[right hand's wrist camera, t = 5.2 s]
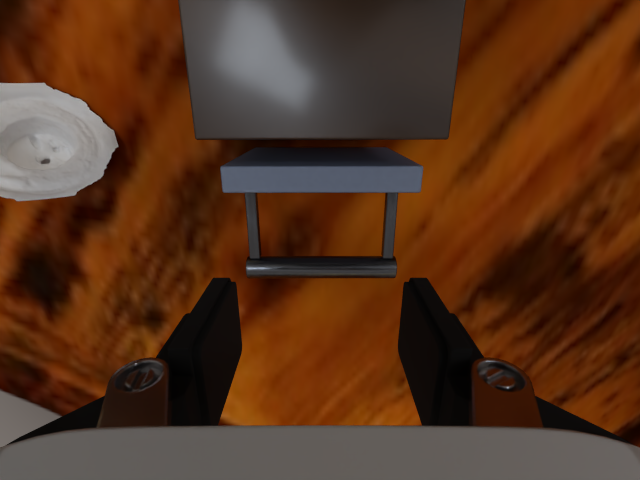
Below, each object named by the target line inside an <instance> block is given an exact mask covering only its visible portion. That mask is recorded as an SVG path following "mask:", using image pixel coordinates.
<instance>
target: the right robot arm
mask: <svg viewBox="0 0 640 480" xmlns="http://www.w3.org/2000/svg"><path fill="white" fill-rule="evenodd" d="M241 352H242V339H241V329H240V318H239V308H238V297H237V287H236V282H231V280H230V278H213V279H212V281H211V282H210V284H209V285H208V287H207V288H206V290H205V291H204V293H203V294H202V296H201V297H200V299H199V301H198V302H197V304H196V305H195V307H194V308H193V310H192V311H191V313H188V314H185V315H184V316H183V318H182V319H181V321H180V322H179V324H178V325H177V327H176V328H175V330H174V331H173V333H172V334H171V336H170V337H169V339H168V340H167V342H166V343H165V345H164V346H163V348H162V349H161V351H160V352H159V354H158V355H157V357H156V358H151V357H150V358H143V359H139V360H136V361H133V362H131V363H128V364H126V365H124V366H123V367H122V368H120V369H119V370H117V371H116V372H115V373H114V374H113V376H112V377H111V378H110V380H109V382H108V386H107V390H106V394H105V396H103V397H101V398H99V399H97V400H95V401H93V402H91V403H89V404H87V405H85V406H83V407H81V408H79V409H77V410H75V411H73V412H71V413H69V414H67V415H64V416H62V417H60V418H58V419H56V420H54V421H52V422H50V423H48V424H46V425H44V426H42V427H40V428H38V429H36V430H34V431H32V432H30V433H28V434H25V435H23V436H21V437H19V438H18V439H16V440H14V441H12V442H11V443H9V444H7V445H6V446H3V447H1V448H0V480H640V447H637V446H634V445H633V444H631V443H629V442H628V441H626V440H624V439H622V438H621V437H619V436H617V435H615V434H612V433H610V432H608V431H606V430H604V429H602V428H600V427H598V426H596V425H594V424H592V423H590V422H588V421H586V420H584V419H582V418H580V417H578V416H576V415H573V414H571V413H569V412H567V411H565V410H563V409H561V408H559V407H557V406H555V405H553V404H551V403H549V402H547V401H545V400H543V399H541V398H539V397H537V396H535V394H534V390H533V386H532V382H531V380H530V378H529V377H528V376H527V374H526V373H525V372H524V371H523V370H521V369H520V368H518V367H517V366H516V365H514V364H512V363H509V362H507V361H504V360H501V359H497V358H490V357H489V358H484V357H483V355H482V354H481V352H480V351H479V349H478V348H477V346H476V345H475V343H474V342H473V340H472V339H471V337H470V336H469V334H468V333H467V331H466V330H465V328H464V327H463V325H462V324H461V322H460V321H459V319H458V318H457V316H456V315H455V314H453V313H449V311H448V310H447V308H446V307H445V305H444V304H443V302H442V301H441V299H440V297H439V296H438V294H437V293H436V291H435V290H434V288H433V287H432V285H431V284H430V282H429V281H428V279H427V278H410V280H409V282H404V287H403V297H402V308H401V318H400V329H399V339H398V352H399V356H400V359H401V362H402V365H403V368H404V371H405V374H406V377H407V380H408V383H409V387H410V390H411V393H412V396H413V399H414V402H415V405H416V408H417V411H418V414H419V417H420V420H421V423H422V426H218V423H219V420H220V417H221V414H222V411H223V408H224V405H225V402H226V399H227V396H228V393H229V390H230V387H231V384H232V380H233V377H234V374H235V371H236V368H237V365H238V362H239V359H240V356H241Z"/></svg>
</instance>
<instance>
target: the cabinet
mask: <svg viewBox="0 0 640 480" xmlns="http://www.w3.org/2000/svg"><path fill="white" fill-rule="evenodd" d="M178 2H179V10H180V18H181V26H182V35H183V43H184V51H185V59H186V67H187V75H188V83H189V91H190V99H191V108H192V116H193V124H194V132H195V138H196V139H197V140H354V139H448V137H449V130H450V122H451V114H452V106H453V98H454V90H455V82H456V74H457V66H458V58H459V50H460V42H461V34H462V26H463V18H464V10H465V2H466V0H178Z"/></svg>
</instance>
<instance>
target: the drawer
mask: <svg viewBox="0 0 640 480" xmlns="http://www.w3.org/2000/svg"><path fill="white" fill-rule="evenodd" d="M220 169H221V179H222V189H223V192H224V193H245V203H246V215H247V228H248V241H249V253H250V256H249V257H248V258H247V261H246V275H247V278H395V277H396V273H397V262H396V258H395V256H393V250H394V238H395V225H396V213H397V200H398V193H419V192H420V191H421V183H422V174H423V166H421V165H419V164H417V163H415V162H413V161H412V160H410V159H408V158H406V157H404V156H402V155H400V154H398V153H396V152H394V151H392V150H390V149H389V148H387V147H269V148H254V149H252V150H250V151H248V152H247V153H245V154H243V155H241V156H239V157H237V158H236V159H234V160H232V161H230V162H228V163H226V164H225V165H223V166H221V168H220ZM257 193H385V208H384V223H383V238H382V253H381V255H382V256H261V243H260V227H259V212H258V197H257Z"/></svg>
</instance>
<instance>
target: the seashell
mask: <svg viewBox="0 0 640 480" xmlns="http://www.w3.org/2000/svg"><path fill="white" fill-rule="evenodd" d="M117 147H119V146H118V143H117V140H116V137H115V133H114V130H112V129H110V128H109V127H107V125H106V124H105V123H103V121H102V119H100V117H99V116H97V115H96V114H95V113H93V112H92V111H91V110H89V107H87V104H86V103H85V102H83V101H82V100H81V99H78V98H74V97H72V96H70V95H69V94H66V93H63V92H61V91H59V90H57V89H55V90H54V89H52V88H51V87H49V86H47V85H46V84H45V83H0V196H1V197H4V198H12V199H15V200H16V201H28V200H40V199H50V198H59V197H67V196H74V195H76V193H77V191H79V190H80V189H83V188H85V187H86V186H88V185H91V184H92V183H93V182H95V181H97V180H98V179H100V178H101V177H102V176H103V174H104V169H106V168H107V167H106V165H107V164H108V163H109V160H110V159H111V155H112V152H114V151H115V148H117Z"/></svg>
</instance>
